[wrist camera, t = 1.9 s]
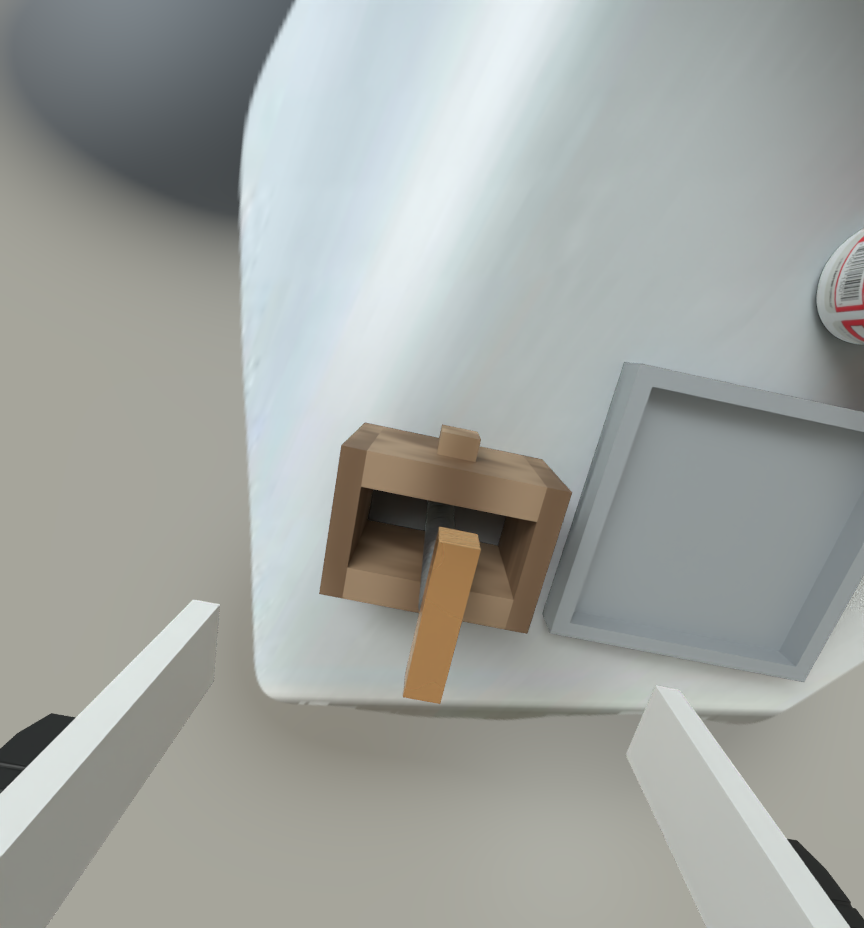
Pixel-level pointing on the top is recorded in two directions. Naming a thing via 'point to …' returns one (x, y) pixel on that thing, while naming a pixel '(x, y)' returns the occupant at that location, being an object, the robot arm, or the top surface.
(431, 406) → the top surface
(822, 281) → the pill bottle
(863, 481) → the tray
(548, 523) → the brown wooden open box
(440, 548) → the t-shaped peg
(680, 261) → the top surface
